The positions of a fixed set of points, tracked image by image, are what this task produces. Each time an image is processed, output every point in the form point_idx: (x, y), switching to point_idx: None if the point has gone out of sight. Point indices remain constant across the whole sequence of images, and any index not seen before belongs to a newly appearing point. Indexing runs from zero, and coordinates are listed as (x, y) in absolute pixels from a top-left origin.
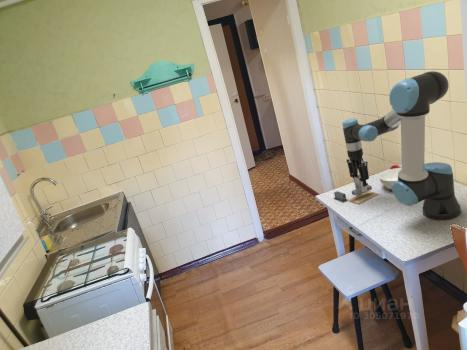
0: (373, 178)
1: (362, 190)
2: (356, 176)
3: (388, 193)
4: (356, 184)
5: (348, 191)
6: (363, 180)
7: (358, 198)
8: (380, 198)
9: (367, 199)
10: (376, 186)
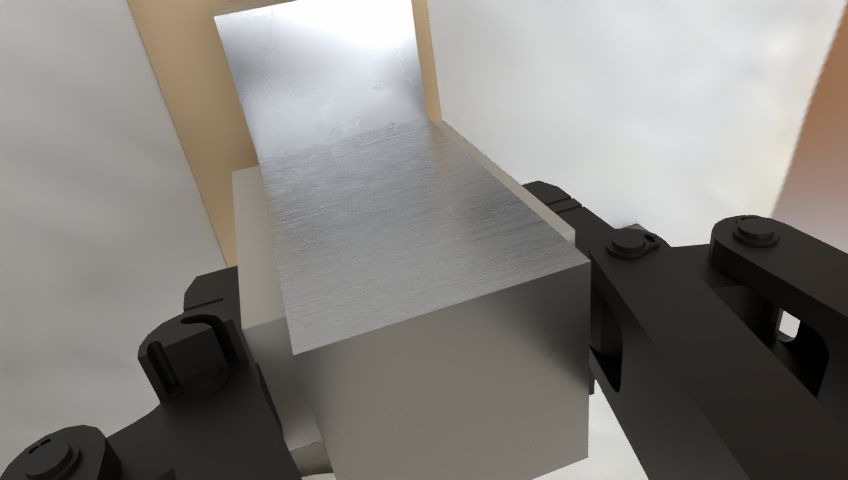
0: None
1: (251, 182)
2: (540, 344)
3: None
4: (419, 172)
5: (669, 102)
6: (174, 394)
7: None
8: (111, 315)
9: (187, 156)
10: None
